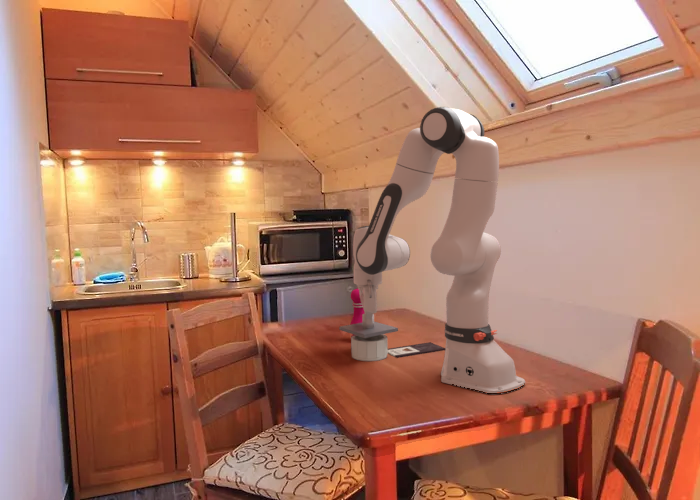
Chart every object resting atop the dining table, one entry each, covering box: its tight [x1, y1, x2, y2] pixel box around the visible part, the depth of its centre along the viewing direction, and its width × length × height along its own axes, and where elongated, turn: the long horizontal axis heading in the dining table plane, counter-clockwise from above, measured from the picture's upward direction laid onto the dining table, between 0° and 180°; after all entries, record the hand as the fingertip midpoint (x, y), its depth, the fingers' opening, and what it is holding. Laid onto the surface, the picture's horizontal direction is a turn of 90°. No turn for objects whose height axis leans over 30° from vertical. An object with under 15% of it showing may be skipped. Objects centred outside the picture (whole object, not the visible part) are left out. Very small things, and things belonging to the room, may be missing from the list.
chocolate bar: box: [387, 341, 446, 359], centre depth 169 cm, size 9×1×18 cm
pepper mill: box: [349, 285, 365, 338], centre depth 182 cm, size 7×7×20 cm
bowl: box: [350, 334, 389, 362], centre depth 163 cm, size 11×11×6 cm
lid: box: [338, 313, 399, 338], centre depth 163 cm, size 13×13×5 cm
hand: (368, 322), depth 163 cm, fingers closed on lid, 4 cm apart
